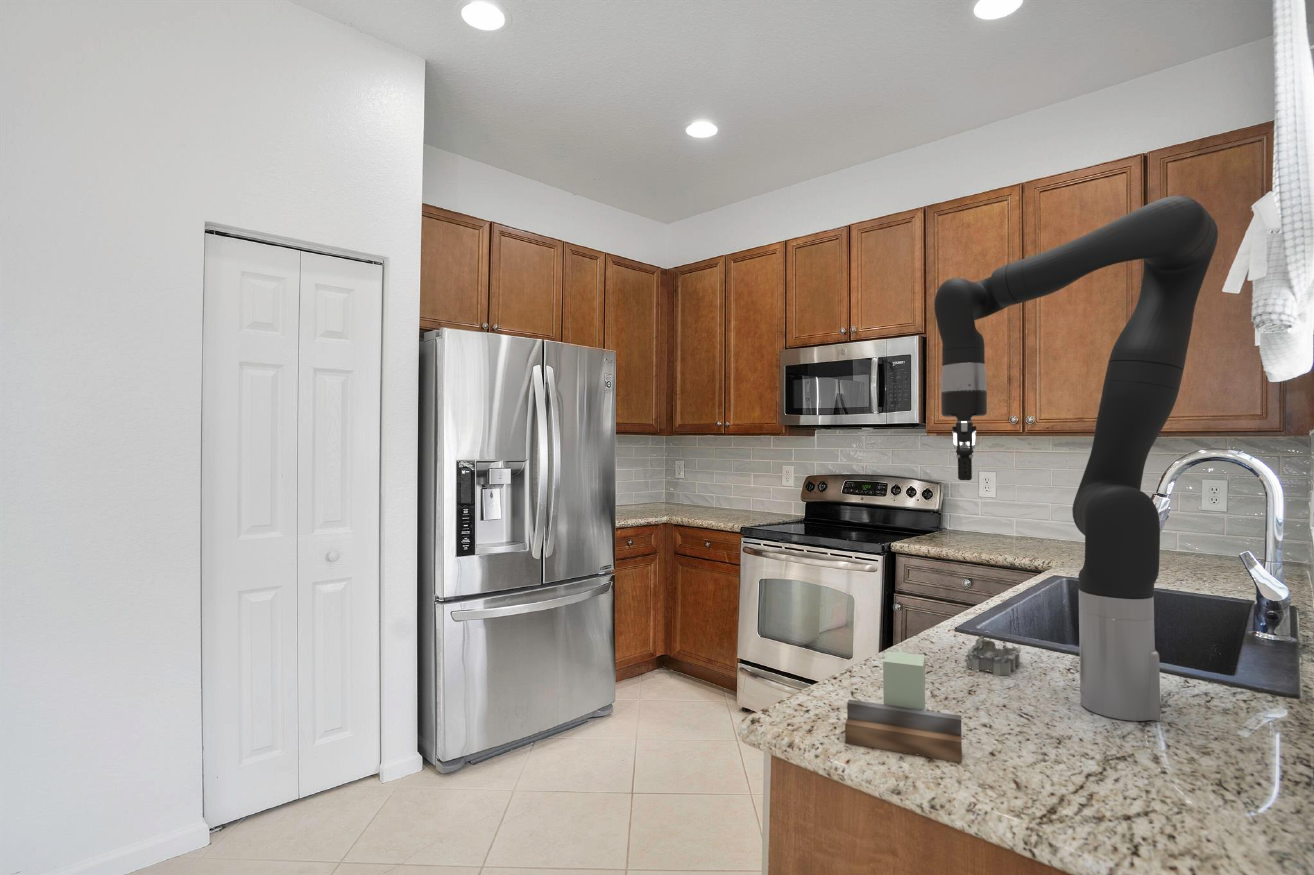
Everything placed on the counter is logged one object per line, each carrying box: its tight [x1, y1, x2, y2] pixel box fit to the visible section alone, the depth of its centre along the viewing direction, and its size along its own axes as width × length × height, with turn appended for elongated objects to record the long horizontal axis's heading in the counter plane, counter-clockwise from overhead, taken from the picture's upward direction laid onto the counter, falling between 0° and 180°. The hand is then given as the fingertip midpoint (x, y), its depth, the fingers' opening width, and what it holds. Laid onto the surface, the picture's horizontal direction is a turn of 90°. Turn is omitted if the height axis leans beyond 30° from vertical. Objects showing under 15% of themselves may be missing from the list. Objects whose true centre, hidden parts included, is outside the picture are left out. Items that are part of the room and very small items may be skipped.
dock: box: [844, 698, 963, 763], centre depth 90 cm, size 14×10×4 cm
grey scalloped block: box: [965, 635, 1023, 676], centre depth 119 cm, size 11×8×4 cm
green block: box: [882, 650, 926, 710], centre depth 91 cm, size 5×5×10 cm
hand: (964, 479), depth 121 cm, fingers open, 8 cm apart
